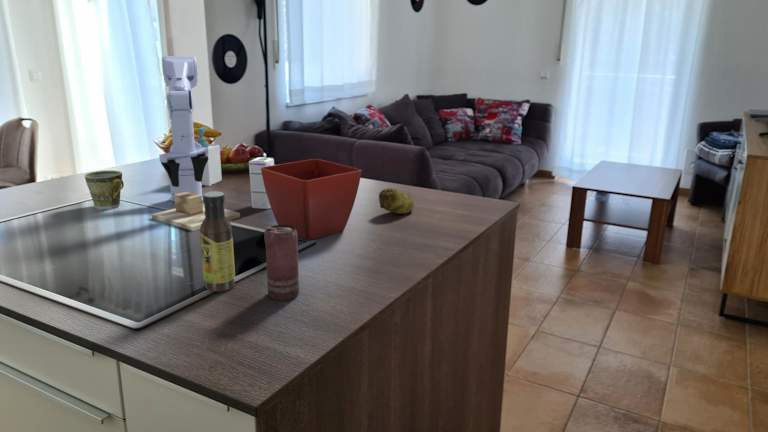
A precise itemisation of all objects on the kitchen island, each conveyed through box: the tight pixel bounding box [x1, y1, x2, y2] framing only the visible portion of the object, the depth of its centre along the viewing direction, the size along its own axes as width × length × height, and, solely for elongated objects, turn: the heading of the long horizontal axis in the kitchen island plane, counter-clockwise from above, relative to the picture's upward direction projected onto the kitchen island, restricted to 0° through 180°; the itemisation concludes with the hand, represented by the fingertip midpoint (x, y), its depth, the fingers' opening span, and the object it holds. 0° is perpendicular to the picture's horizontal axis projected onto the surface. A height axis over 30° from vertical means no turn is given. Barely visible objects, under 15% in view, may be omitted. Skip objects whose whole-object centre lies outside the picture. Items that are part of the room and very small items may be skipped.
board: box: [151, 202, 241, 232], centre depth 164 cm, size 18×16×1 cm
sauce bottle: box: [199, 191, 236, 293], centre depth 117 cm, size 6×6×20 cm
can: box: [264, 224, 300, 302], centre depth 114 cm, size 6×6×14 cm
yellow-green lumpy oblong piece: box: [378, 187, 415, 215], centre depth 171 cm, size 8×13×8 cm, turn 120°
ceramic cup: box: [84, 169, 125, 211], centre depth 172 cm, size 13×10×10 cm
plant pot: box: [261, 158, 362, 241], centre depth 153 cm, size 19×19×17 cm
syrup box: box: [248, 156, 275, 210], centre depth 175 cm, size 6×6×14 cm
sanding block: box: [174, 192, 203, 216], centre depth 165 cm, size 7×4×5 cm, turn 54°
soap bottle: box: [196, 126, 223, 187], centre depth 201 cm, size 9×9×19 cm
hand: (187, 183), depth 164 cm, fingers open, 7 cm apart
